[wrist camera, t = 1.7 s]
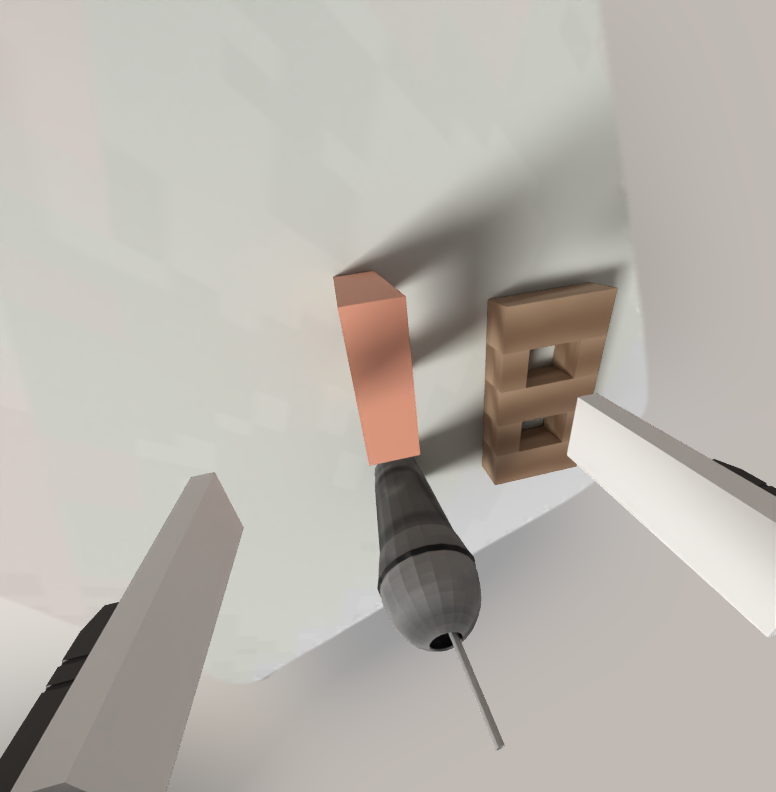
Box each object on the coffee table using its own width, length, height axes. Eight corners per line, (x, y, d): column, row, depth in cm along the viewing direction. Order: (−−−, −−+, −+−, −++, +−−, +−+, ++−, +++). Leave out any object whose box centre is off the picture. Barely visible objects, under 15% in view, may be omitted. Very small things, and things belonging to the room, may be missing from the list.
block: (333, 276, 22) (337, 307, 13) (373, 270, 23) (405, 296, 13) (354, 386, 27) (369, 465, 18) (388, 379, 27) (420, 454, 18)
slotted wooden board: (487, 299, 25) (506, 307, 23) (588, 282, 26) (617, 287, 23) (482, 465, 34) (495, 485, 31) (557, 448, 35) (576, 466, 32)
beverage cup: (369, 438, 30) (430, 733, 12) (438, 445, 31) (577, 708, 14) (355, 494, 33) (388, 794, 15) (419, 497, 34) (513, 766, 17)
